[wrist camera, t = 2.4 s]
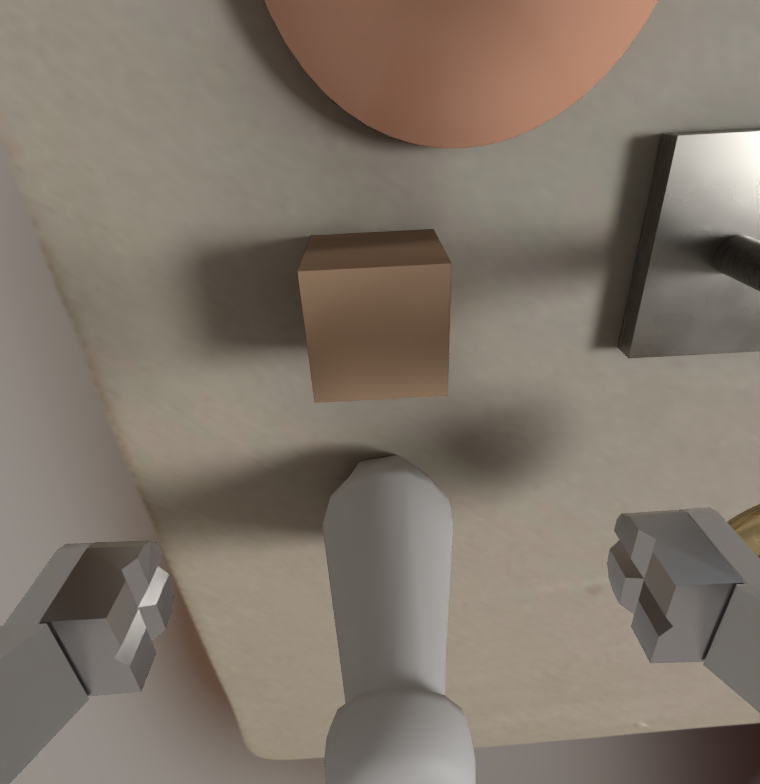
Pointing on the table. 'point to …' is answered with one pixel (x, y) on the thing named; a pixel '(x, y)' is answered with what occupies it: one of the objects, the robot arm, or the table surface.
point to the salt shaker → (393, 630)
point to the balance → (700, 259)
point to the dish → (457, 60)
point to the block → (376, 315)
